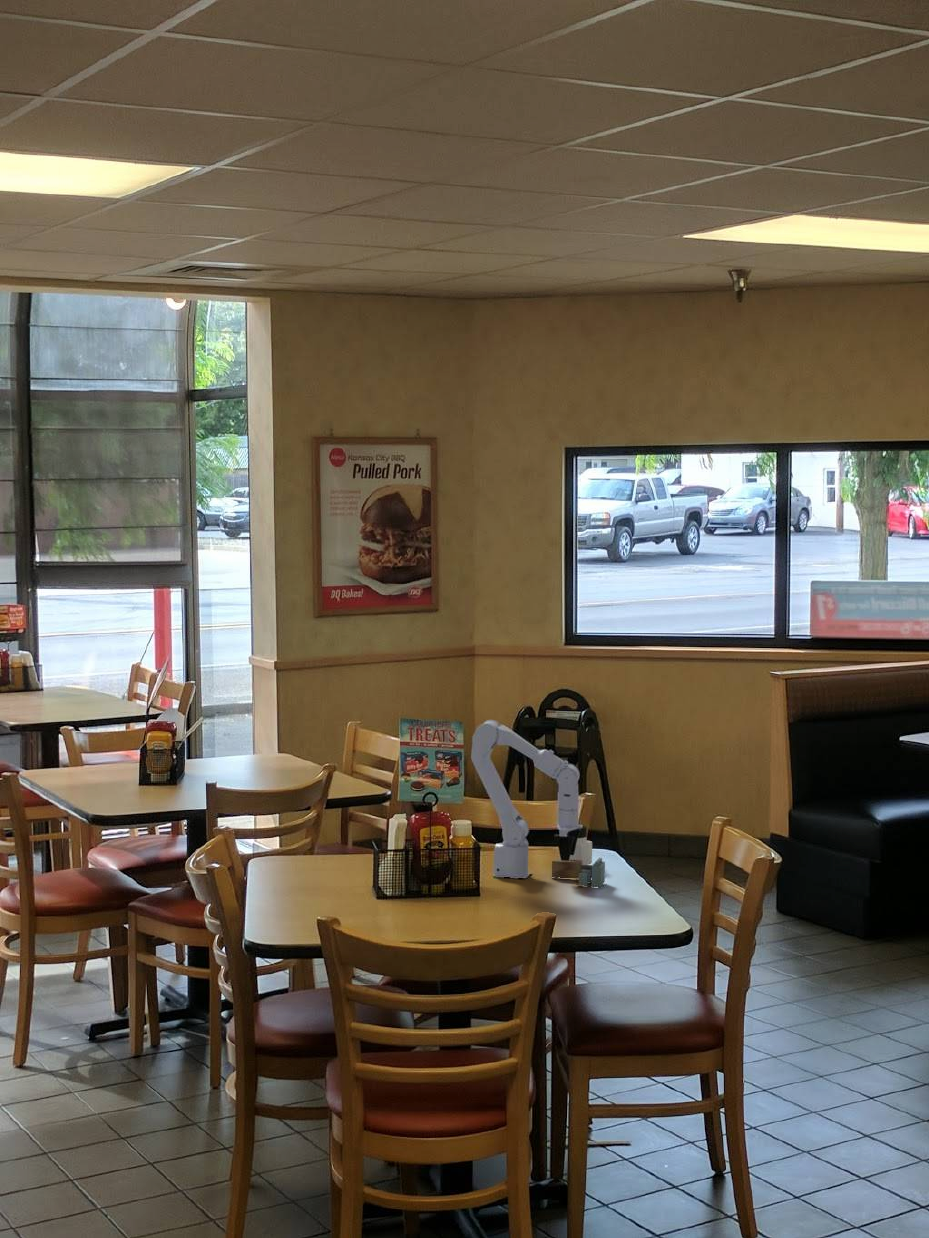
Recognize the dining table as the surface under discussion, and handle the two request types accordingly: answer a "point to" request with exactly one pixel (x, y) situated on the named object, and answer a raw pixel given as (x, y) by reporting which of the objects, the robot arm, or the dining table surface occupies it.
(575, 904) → the dining table surface
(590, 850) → the medicine bottle
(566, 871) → the rail
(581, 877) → the grey boxy pieces
